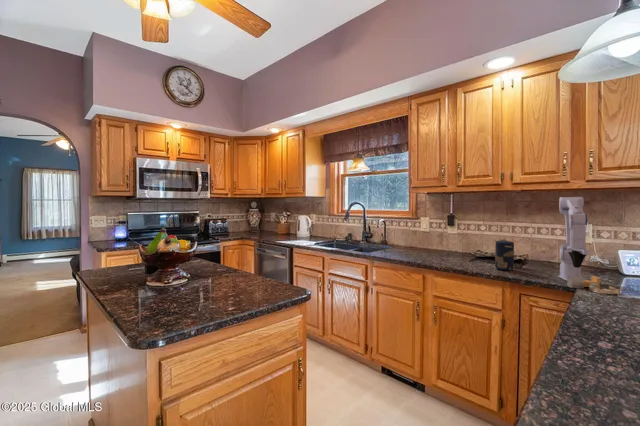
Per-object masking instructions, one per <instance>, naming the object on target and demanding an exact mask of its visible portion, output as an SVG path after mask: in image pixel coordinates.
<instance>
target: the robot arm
mask: <svg viewBox="0 0 640 426" xmlns="http://www.w3.org/2000/svg"><path fill="white" fill-rule="evenodd" d="M558 201H559V202H558V206H559V214H561V215H563V216H564V221H565V241H566V243H564V244H562V245H561V246H560V248H559V261H561V263H560V265H559V275H557V277H558V278H560V279H562V280H564V281H566V282H567V275H569V276H581V277H582V272H581V271H582V264H583V263H584V262H585V261H586V257H587V255H590V250H588V249H587V248H586V239H587V237H586V236H587V235H586V233H587V226H588V224H589V217H588V213H587V212H586V213H585V212H584V209H583V208H584V205H585V204H584V203H585V201H584V197H583V196H570V197H569V196H567V197H565V196H560V197H559V200H558Z"/></svg>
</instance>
